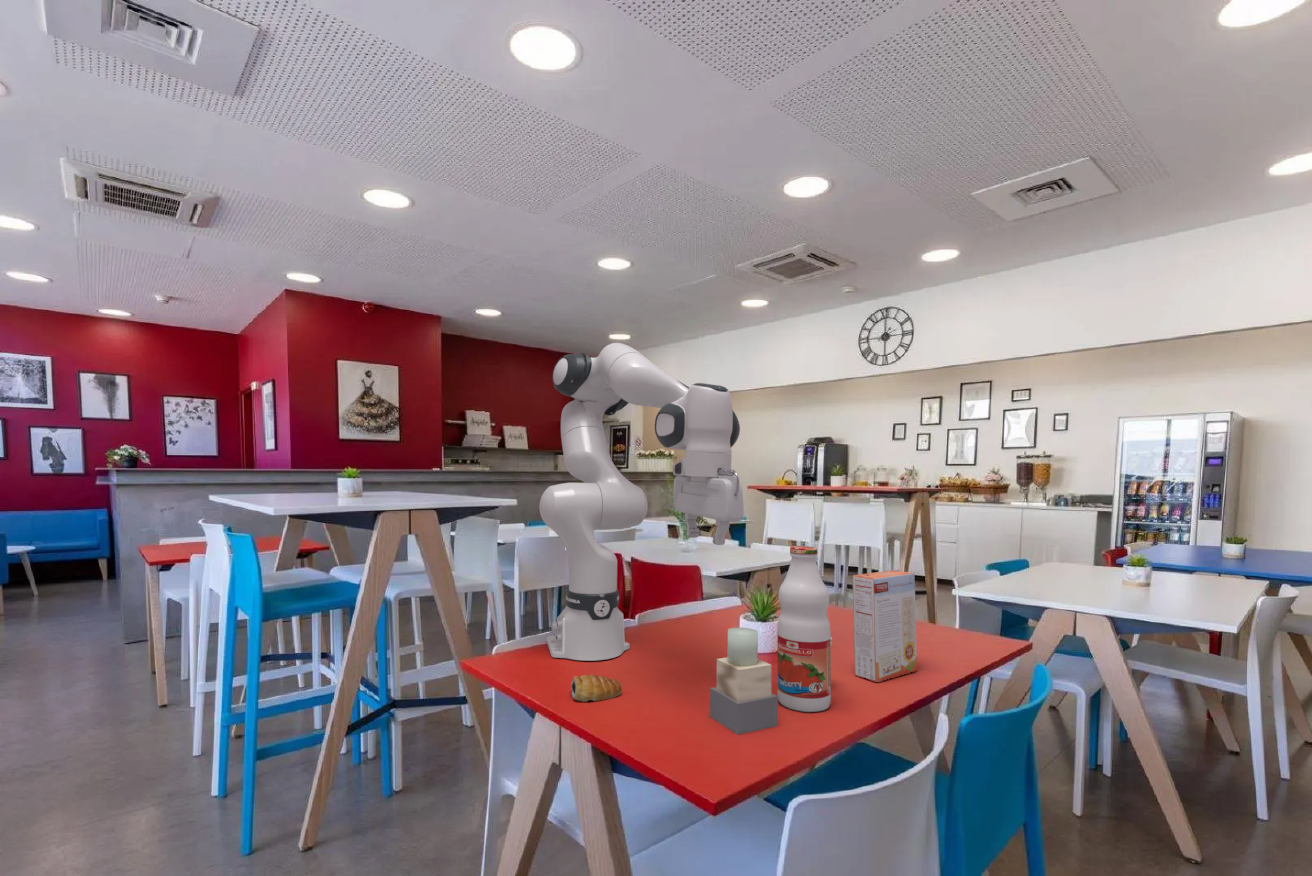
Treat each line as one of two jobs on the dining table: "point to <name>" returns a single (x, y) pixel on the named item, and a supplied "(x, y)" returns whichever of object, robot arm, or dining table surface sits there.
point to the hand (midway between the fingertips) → (705, 540)
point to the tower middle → (744, 680)
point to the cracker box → (884, 625)
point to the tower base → (743, 712)
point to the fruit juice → (804, 635)
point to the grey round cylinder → (742, 646)
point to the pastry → (594, 688)
